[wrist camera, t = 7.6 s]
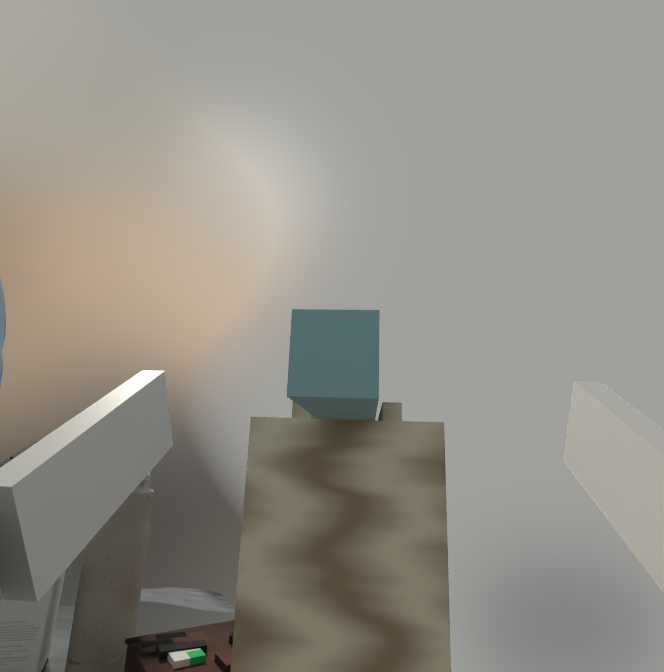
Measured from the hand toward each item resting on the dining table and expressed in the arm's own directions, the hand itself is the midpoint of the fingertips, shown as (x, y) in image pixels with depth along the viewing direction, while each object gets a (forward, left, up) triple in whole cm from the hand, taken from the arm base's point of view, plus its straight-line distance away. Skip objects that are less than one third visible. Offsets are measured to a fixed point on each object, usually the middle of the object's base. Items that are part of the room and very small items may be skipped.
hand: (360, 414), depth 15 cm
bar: (-1, +12, +1) cm, 12 cm away
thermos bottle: (-35, +52, -30) cm, 69 cm away
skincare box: (-44, +49, -30) cm, 72 cm away
